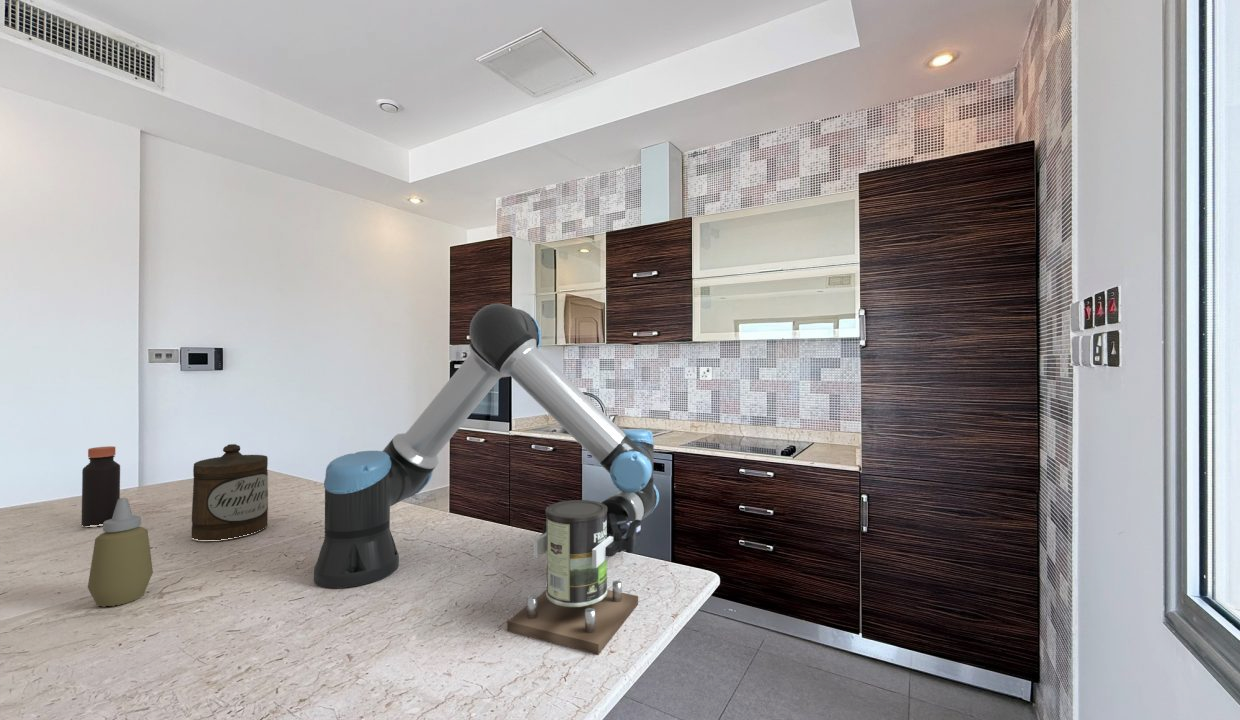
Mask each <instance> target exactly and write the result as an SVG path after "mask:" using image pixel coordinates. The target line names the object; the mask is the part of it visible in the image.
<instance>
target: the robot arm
mask: <svg viewBox="0 0 1240 720" xmlns="http://www.w3.org/2000/svg"><path fill="white" fill-rule="evenodd" d="M541 331H542V330H541V328H540V325H539V324H538V322H537V320H536V319H535V318H534V317H533V316H532V315H531V314H530V313H528V312H526V311H525V310H523V309H520V308H515V307H513V306H511V305H509V304H504V303H491V304H488V305H486V306H483V307H482V308H479V310H477V312H476V313H475V314H474V316H473V317H472V319H471V321H470V325H469V338H470V342H469V344H468V347H469V355H468V356H467V357H466V359H465V360H464V361H463V362H462V364H460V366H459V368H458V369H457V370H456V371H455V372H454V373H453V375H452V376H451V377H450V378H449V379H448V381H447V382H446V383H445V385H443V387H442V388H441V389H440V390H439V392H438V393H437V394H436V395H435V397H434V398H433V399H432V401H431V402H430V403H429V404H428V405H427V407H426V408H425V409H424V410H423V412H422V413H421V414H420V415H419V416H418V418H417V419H416V420H415V422H414V423H413V424H412V425H411V426H410V427H409V429H408V430H407V431H406V432H405V433H398V434H396V435H395V436H393V438H392V439H391V440H390V441H389V443H388V444H387V445H386V446H385V447H384V448H383V450H364V451H363V450H362V451H356V452H354V453H348V454H347V453H346V454H344V455H340V456H339V457H336V458H334V459H332V460H331V461H330V462H329V463H328V464H327V466H326V469H325V475H324V476H325V478H324V481H323V485H324V486H323V487H324V539H323V543H322V545H321V548H320V551H319V553H318V557H317V560H316V563H315V564H314V567H313V582H314V584H315V585H317V586H320V587H322V588H323V587H324V588H328V589H330V588H331V589H343V588H352V587H353V588H354V587H359V586H363V585H367V584H371V583H374V582H377V581H380V580H382V579H385V578H386V577H389V576H391V575H392V574H393V573H395V572H396V571H397V570H398V568H399V564H400V563H399V560H400V559H399V558H400V555H399V551H398V550H397V547H396V543H395V540H394V537H393V534H392V532H391V522H390V521H391V520H390V519H391V507H392V506H394V505H396V504H398V503H400V502H402V501H404V500H405V499H409V498H412V497H414V496H415V495H417V494H418V493H420V492H421V491H422V490H424V488H426V486H427V485H428V484H429V482H430V480H431V479H432V476H433V471H434V469H436V467H437V466H438V464H439V457H438V455H439V453H440V452H441V451H442V449H443V448H444V447H445V446H446V445H447V444H448V442H449V441H450V440H451V438H453V436H454V435H455V434H456V433H457V432H458V430H459V429H460V427H462V425H463V424H464V422H465V421H466V420H467V419H468V418H469V416H470V415H471V414H472V413H473V412H474V411H475V410H476V409H477V407H478V406H479V405H480V403H481V402H482V401H483V399H484V398H485V397H486V396H487V395H488V394H489V393H490V391H491V390H492V389H493V387H494V386H495V385H497V383H498V381H499V380H500V379H501V378H507V377H508V378H509V377H511V379H513V380H514V381H515V382H516V383H517V384H518V385H519V386H520V387H521V388H522V389H523V390H524V391H525V392H526V393H527V394H528V395H529V396H530V397H531V398H533V400H534V401H536V403H537V404H538V405H539V406H541V407H542V408H543V409H544V410H545V411H546V412H547V413H548V414H549V415H550V416H551V418H553V419H554V420H555V421H556V422H557V423H558V424H559V425H560V426H561V427H562V429H564V430H565V431H566V432H567V433H568V434H569V435H570V436H571V437H572V438H573V439H574V440H575V441H576V442H577V443H578V444H579V445H580V446H581V447H582V448H584V449H585V451H587V452H588V453H589V454H590V455H591V456H592V458H594V459H595V460H596V461H597V463H599V465H601V466H602V467H603V468H604V469H605V471H606V472H608V473H609V474H610V475H609V476H610V478H611V481H612V483H613V485H614V486H615V487H616V488H617V489H618V490H619V491H618V492H616V493H615V494H613V495H611V496H609V497H608V498H606V499H605V500H603V501H602V502H601V503H602V504H604V505H606V506H607V538H606V539H605V540H604V541H603V542H601V543H600V544H599V545H597V546H596V547H595V548H594V549H592V567H594V568H597V567H598V566H599V565H600V564H602V563H603V562H604V561H605V560H606V559H607V560H608V558H611V557H614V556H615V555H616V554H617V553H619V554H620V553H622V551H624V550H625V552H626V553H629V554H632V553H633V552H634V549H635V545H636V541H637V538H638V537H639V536H640V535H641V533H642V532H641V527H642V526H641V525H642V523H641V521H643V520H644V519H645V518H646V517H648V516H650V515H651V514H652V513H653V512H654V510H655V509H656V507H657V506H658V504H659V501H660V493H659V490H658V487H657V486H656V485H655V483H654V481H655V480H654V447H655V444H654V435H653V432H652V431H651V430H648V429H641V428H637V429H636V428H633V429H631V428H630V429H623V430H621V428H619V426H617V424H616V423H614V422H613V421H612V420H611V419H610V418H609V417H608V416H607V414H605V413H604V412H603V411H602V410H601V409H600V408H599V407H598V406H597V405H596V404H595V403H594V402H593V401H592V400H590V398H588V396H587V395H586V394H585V393H583V391H582V390H580V389H579V388H578V387H577V386H576V384H575V383H573V382H572V381H571V380H570V379H569V378H568V377H567V376H566V375H565V374H564V373H563V372H562V371H561V370H560V369H559V368H558V367H557V366H556V365H555V364H554V363H553V362H551V360H549V358H548V357H547V356H545V354H544V353H542V352H541V350H539V349H540V345H541V343H542V332H541ZM542 530H543V531H542V533H541V534H540V535H539V536H538V537H536V538H535V539H533V548H532V549H533V555H532V556H533V558H539V557H540V556H542V555H544V554H546V552H547V538H546V523H544V524H543V525H542ZM625 535H626V536H625ZM623 536H625V538H623Z"/></svg>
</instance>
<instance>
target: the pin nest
mask: <svg viewBox="0 0 1240 720" xmlns="http://www.w3.org/2000/svg"><path fill="white" fill-rule="evenodd" d="M622 589H623V582H622V581H621V580H619V579H618V580H613V581H612V590H609V589H607V595H606V596H605V598H604V599H602V600H601V601H599V602H597V603H595V604H592V605H589V606H584V607H565V606H560V605H556V604H554V603H552V602H551V601H549V600H548V598H547V596H546V591H547V589H546V590H544V591H543V592H542V593H541V594H540V595H538V596H537V595H534V594H532V595H528V596H527V597H526V598H527V599H526V601H527V602H526V605H525V606H524V607H523V608H522V609H521V610H519V611H518V612H517V613H516V614H514V615H513V616H512V617H510V619H507V621H506V623H507V624H506V625H507V626H506V627H507V628H506V629H507V630H506V631H507V632H512V633H514V634H517V635H522V636H525V637H526V636H527V637H529V638H534V639H538V640H542V641H545V642H549V643H553V644H557V645H560V646H564V647H568V648H572V649H576V650H579V651H583V652H588V653H589V654H590V653H591V654H593V655H594V654H595V655H600V653H601V652H602V651H603V650H604V648H605V647H606V646H607V645H608V643H610V641H611V640H612V639H613V637H614V636H615V634H616V633H617V632H618V631H619V630H620V628H621V627H622V626H623V625H624V623H625V622H626V620H627V619H628V618H629V616H631V614H632V613H633V612H634V610H635V609H636V608H637V606H638V605H639V596H638V595H635V594H631V593H630V594H629V593H624V592H622V591H623V590H622Z"/></svg>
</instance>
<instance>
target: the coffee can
mask: <svg viewBox="0 0 1240 720" xmlns="http://www.w3.org/2000/svg"><path fill="white" fill-rule="evenodd" d="M545 516H546V517H545V518H546V521H545V524H546V538H547V551H546V552H545V554H546V555H545V557H546V590H547V591H546V590H545V591H546V596H547V598H548V600H549V601H551V602H552V603H554V604H556V605H560V606H565V607H584V606H589V605H592V604H595V603H597V602H599V601H601V600H602V599H604V598H605V596H606V595H607V590H608V578H607V577H608V558H607V559H606V560H605V561H604V562H603V563H602V564H600V565H599V566H598V567H597V568H594V567H592V549H594V548H595V547H596V546H597V545H599V544H600V543H601V542H603V541H604V540H605V539H606V538H608V537H607V506H606V505H604V504H602V502H599V501H595V500H589V499H588V500H585V499H576V500H575V499H574V500H573V499H572V500H563V501H559V502H554V503H552V504H550V505H548V506H547V507H545Z"/></svg>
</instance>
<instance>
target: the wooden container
mask: <svg viewBox="0 0 1240 720" xmlns="http://www.w3.org/2000/svg"><path fill="white" fill-rule="evenodd" d="M240 451H241V445H237V444H236V443H230V444H227V445H225V446H224V447H223V448H222V452H224V453H223V454H222V456H217V457H211V458H207V459H201V460H199V461H195V463H193V468H192V469H193V471H192V472H193V474H192V475H193V486H192V487H193V489H192V504H191V539H192V538H194V539H198V540H221V539H228V538H234V537H239V536H243V535H247V534H251V533H254V532H257V531H259V530H261V529H263V528H265V527H266V526H267V527H268V517H269V515H268V514H269V481H268V479H269V475H268V474H269V472H268V465H269V463H268V462H269V461H268V456H267V455H264V454H243V453H241V452H240ZM267 527H266V528H267ZM266 528H265V529H266Z"/></svg>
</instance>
